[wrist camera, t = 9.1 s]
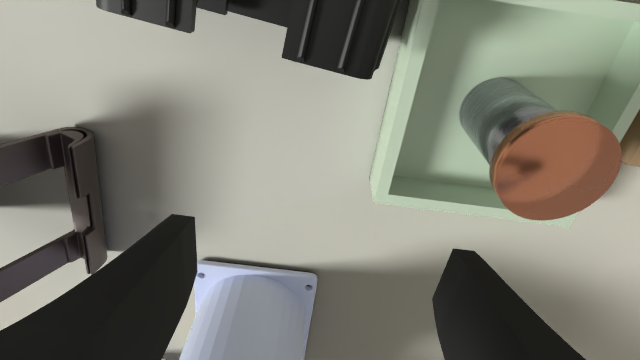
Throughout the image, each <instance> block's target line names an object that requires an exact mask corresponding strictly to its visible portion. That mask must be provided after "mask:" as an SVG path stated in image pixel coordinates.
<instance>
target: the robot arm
mask: <svg viewBox="0 0 640 360" xmlns="http://www.w3.org/2000/svg"><path fill="white" fill-rule="evenodd" d="M201 273H204V274H201ZM193 284H194V288H195V306H196V317H195V319H194V322H193V324H192V327H191V330H190V332H189V335H188V338H187V340H186V343H185V345H184V348H183V351H182V353H181V356H180V359H179V360H304V356H305V350H306V344H307V339H308V333H309V327H310V322H311V316H312V310H313V305H314V299H315V293H316V288H317V276H316V275H315V274H313V273H308V272H299V271H291V270H282V269H273V268H265V267H256V266H247V265H239V264H230V263H221V262H213V261H204V260H199V261H197V252H196V233H195V217H191V216H183V215H174V214H172V215H171V216H169V217H168V218H166V219H165V220H164V221H163V222H161V223H160V224H159V225H157V226H156V227H155V228H154V229H152V230H151V231H150V232H149V233H147V234H146V235H145V236H144V237H142V238H141V239H140V240H138V241H137V242H136V243H135V244H133V245H132V246H131V247H129V248H128V249H127V250H125V251H124V252H123V253H121V254H120V255H119V256H118V257H116V258H115V259H114V260H112V261H111V262H110V263H108V264H107V265H105V266H104V267H103V268H101V269H100V270H98V271H97V272H96V273H94V274H93V275H91V276H90V277H88V278H87V279H85V280H84V281H82V282H81V283H80V284H78V285H77V286H75V287H74V288H72V289H71V290H69V291H68V292H66V293H65V294H63V295H62V296H60V297H58V298H57V299H55V300H54V301H52V302H50V303H49V304H47V305H45V306H44V307H42V308H40V309H38V310H37V311H35V312H33V313H32V314H30V315H28V316H27V317H25V318H23V319H21V320H20V321H18V322H16V323H14V324H12V325H10V326H9V327H7V328H5V329H3V330H1V331H0V360H161V359H162V357H163V355H164V353H165V351H166V349H167V347H168V344H169V342H170V340H171V338H172V336H173V334H174V332H175V329H176V327H177V325H178V323H179V321H180V319H181V316H182V314H183V312H184V310H185V308H186V305H187V302H188V300H189V297H190V294H191V291H192V288H193ZM307 285H311V286H307ZM432 300H433V307H434V315H435V321H436V327H437V333H438V337H439V341H440V344H441V348H442V351H443V355H444V358H445V360H586V359H584V358H583V357H582V356H581V355H580V354H579V353H578V352H576V351H575V350H574V349H573V348H572V347H571V346H570V345H569V344H568V343H567V342H565V341H564V340H563V339H562V338H561V337H560V336H559V335H558V334H557V333H556V332H555V331H554V330H552V329H551V328H550V327H549V326H548V325H547V324H546V323H545V322H544V321H543V320H542V319H541V318H540V317H539V316H538V315H537V314H536V313H535V312H534V311H533V310H532V309H531V308H530V307H529V306H528V305H527V304H526V303H525V302H524V301H523V300H522V299H521V298H520V297H519V296H518V295H517V294H516V293H515V292H514V291H513V290H512V289H511V288H510V287H509V286H508V285H507V284H506V283H505V282H504V280H503V279H502V278H501V277H500V276H499V275H498V274H497V273H496V272H495V271H494V270H493V269H492V268H491V267H490V266H489V265H488V264H487V263H486V262H485V261H484V260H483V259H482V258H481V257H480V256H479V255H478V254H477V253H476V252H475V251H469V250H461V249H453V250H452V253H451V255H450V257H449V260H448V262H447V265H446V267H445V269H444V272H443V274H442V277H441V279H440V282H439V284H438V286H437V289H436V291H435V294H434V296H433V298H432Z"/></svg>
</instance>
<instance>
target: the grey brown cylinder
mask: <svg viewBox="0 0 640 360" xmlns="http://www.w3.org/2000/svg"><path fill="white" fill-rule="evenodd" d="M459 119H460V123H461V126H462V128H463V129H464V131H465V132H466V134H467V135H468V136H469V138H470V139H471V141H472V142H473V143H474V145H475V146H476V147H477V149H478V150H479V151H480V153H481V154H482V156H483V157H484V158H485V160H486V161H487V162H488V164H489V165H490V168H489V177H490V182H491V185H492V187H493V189H494V191H495V192H496V194H497V195H498V197H499V198H500V200H501V201H502V203H503V204H504V206H505V207H506V208H507V209H508V210H509V211H511V212H512V213H514V214H516V215H517V216H520V217H522V218H525V219H530V220H538V221H545V220H554V219H559V218H563V217H566V216H569V215H572V214H575V213H577V212H579V211H581V210H583V209H584V208H586V207H588V206H589V205H591V204H592V203H594V202H595V201H596V200H597V199H599V198H600V197H601V196H602V195H603V194H604V193H605V192H606V191H607V190H608V188H609V187H610V186H611V184H612V183H613V181H614V180H615V178H616V176H617V174H618V171H619V168H620V165H621V158H622V154H621V147H620V144H619V141H618V139H617V138H616V136H615V135H614V134H613V133H612V132H611V131H610V130H609V129H608V128H606V127H605V126H603V125H602V124H600V123H599V122H597V121H595V120H594V119H592V118H591V117H589V116H587V115H585V114H583V113H579V112H575V111H558V110H557V109H555V108H554V107H552V106H551V105H549V104H548V103H547V102H545V101H544V100H542V99H541V98H539V97H538V96H537V95H535V94H534V93H532V92H531V91H529V90H528V89H527V88H525V87H524V86H522V85H521V84H519V83H518V82H516V81H515V80H512V79H509V78H503V77H498V78H492V79H488V80H486V81H483V82H481V83H480V84H478V85H477V86H475V87H474V88H473V89H472V90H471V91H470V92H469V93H468V94H467V95H466V97H465V98H464V100H463V102H462V104H461V107H460V112H459Z"/></svg>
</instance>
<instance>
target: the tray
mask: <svg viewBox="0 0 640 360" xmlns="http://www.w3.org/2000/svg"><path fill="white" fill-rule="evenodd" d="M498 77H503V78H509V79H512V80H515V81H516V82H518V83H519V84H521V85H522V86H524V87H525V88H527V89H528V90H529V91H531V92H532V93H534V94H535V95H537V96H538V97H539V98H541V99H542V100H544V101H545V102H547V103H548V104H549V105H551V106H552V107H554V108H555V109H557V110H558V111H575V112H579V113H583V114H585V115H587V116H589V117H591V118H592V119H594V120H595V121H597V122H599V123H600V124H602V125H603V126H605V127H606V128H608V129H609V130H610V131H611V132H612V133H613V134H614V135H615V136H616V138H617V139H618V141H619V143H620V142H621V140H622V138H623V136H624V135H625V133H626V131H627V130H628V128H629V126H630V125H631V123H632V121H633V120H634V118H635V116H636V114H637V113H638V111H639V109H640V4H636V3H629V2H622V1H616V0H410V2H409V7H408V11H407V16H406V20H405V24H404V29H403V33H402V37H401V42H400V46H399V50H398V55H397V59H396V64H395V68H394V72H393V77H392V81H391V85H390V90H389V94H388V99H387V103H386V107H385V112H384V116H383V120H382V125H381V129H380V133H379V138H378V142H377V147H376V151H375V155H374V160H373V164H372V168H371V173H370V177H369V179H370V185H371V191H372V197H373V202H374V203H378V204H386V205H394V206H402V207H410V208H418V209H426V210H434V211H442V212H450V213H458V214H466V215H474V216H482V217H490V218H498V219H506V220H514V221H522V222H530V223H538V224H546V225H554V226H562V227H570V226H571V225H572V223H573V221H574V220H575V218H576V216H577V215H578V213H579V212H577V213H575V214H572V215H569V216H566V217H563V218H559V219H554V220H545V221H538V220H530V219H525V218H522V217H520V216H517V215H516V214H514V213H512V212H511V211H509V210H508V209H507V208H506V207H505V206H504V204H503V203H502V201H501V200H500V198H499V197H498V195H497V194H496V192H495V191H494V189H493V187H492V185H491V182H490V177H489V168H490V165H489V164H488V162H487V161H486V160H485V158H484V157H483V156H482V154H481V153H480V151H479V150H478V149H477V147H476V146H475V145H474V143H473V142H472V141H471V139H470V138H469V136H468V135H467V134H466V132H465V131H464V129H463V128H462V126H461V123H460V119H459V112H460V107H461V104H462V102H463V100H464V98H465V97H466V95H467V94H468V93H469V92H470V91H471V90H472V89H473V88H474V87H475V86H477V85H478V84H480V83H481V82H483V81H486V80H488V79H492V78H498Z"/></svg>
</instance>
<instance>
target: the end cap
mask: <svg viewBox="0 0 640 360" xmlns="http://www.w3.org/2000/svg"><path fill="white" fill-rule="evenodd" d="M400 3H401V0H96V5H97V7H98V8H100V9H102V10H105V11H108V12H112V13H116V14H119V15H123V16H127V17H131V18H134V19H138V20H142V21H146V22H149V23H153V24H157V25H161V26H164V27H168V28H172V29H176V30H179V31H183V32H187V33H191V32H193V31H194V29H195V16H196V7H197V8H201V9H204V10H208V11H212V12H215V13H219V14H223V15H226V14H227V12H228V11H229V12H233V13H237V14H240V15H244V16H248V17H251V18H255V19H258V20H262V21H266V22H269V23H273V24H277V25H280V26H284V27H287V33H286V38H285V43H284V48H283V53H282V58H284V59H288V60H292V61H295V62H299V63H303V64H307V65H310V66H314V67H318V68H322V69H325V70H329V71H333V72H336V73H340V74H344V75H348V76H351V77H355V78H360V79H371V78H372V75H373V72H374V71H375V70H376V69H378V68H379V66H380V63H381V60H382V57H383V54H384V51H385V48H386V45H387V42H388V39H389V36H390V33H391V30H392V27H393V24H394V21H395V18H396V15H397V12H398V9H399V6H400Z"/></svg>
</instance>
